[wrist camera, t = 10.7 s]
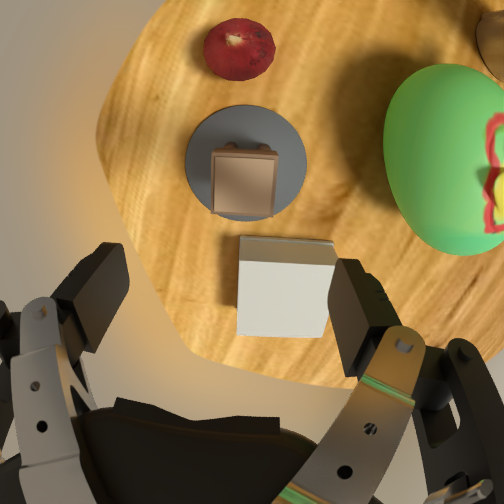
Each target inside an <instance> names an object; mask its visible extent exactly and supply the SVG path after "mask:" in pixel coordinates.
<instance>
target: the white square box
mask: <svg viewBox="0 0 504 504" xmlns="http://www.w3.org/2000/svg"><path fill="white" fill-rule="evenodd" d="M333 247H334V242H333V241H325V240H310V239H295V238H280V237H264V236H247V235H240V246H239V270H238V296H237V335H244V336H264V337H301V338H322V335H323V332H324V329H325V326H326V322H327V319H328V316H329V311H328V306H327V297H328V291H329V288H330V284H331V280H332V276H333V272H334V268H335V264H336V261H337V259H338V256H337V254H336V252H335V250H334V248H333Z"/></svg>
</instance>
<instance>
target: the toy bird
mask: <svg viewBox="0 0 504 504" xmlns="http://www.w3.org/2000/svg"><path fill="white" fill-rule="evenodd" d="M383 152H384V162H385V168H386V173H387V178H388V181H389V185H390V188H391V191H392V194H393V196H394V199H395V201H396V204H397V206H398V208H399V210H400V212H401V214H402V215H403V217H404V219H405V220H406V222H407V223H408V225H409V226H410V227H411V229H412V230H413V231H414V232H415V233H416V234H417V235H418V236H419V237H420V238H421V239H422V240H423V241H424V242H425V243H427V244H428V245H430V246H431V247H433V248H435V249H437V250H439V251H441V252H444V253H448V254H452V255H459V256H469V255H476V254H480V253H483V252H486V251H488V250H490V249H492V248H494V247H496V246H497V245H499V244H500V243H501V242H502V241H503V240H504V91H503V90H502V88H501V87H500V86H499V85H497V84H496V83H495V82H494V81H493V80H492V79H490V78H489V77H487V76H486V75H484V74H483V73H481V72H479V71H477V70H475V69H472V68H470V67H466V66H463V65H458V64H436V65H432V66H428V67H425V68H423V69H420V70H418V71H417V72H415V73H413V74H412V75H411V76H409V77H408V78H407V79H406V80H405V81H404V82H403V83H402V84H401V85H400V86H399V88H398V89H397V91H396V92H395V94H394V96H393V97H392V99H391V102H390V104H389V107H388V110H387V114H386V118H385V124H384V133H383Z"/></svg>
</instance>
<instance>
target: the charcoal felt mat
mask: <svg viewBox="0 0 504 504" xmlns="http://www.w3.org/2000/svg"><path fill="white" fill-rule="evenodd" d="M228 142H234V143H235V144H236V145H237V146H238V148H239V149H257V148H258V146H259V145H261V144H267V145H269V146H270V147H271V150H272V151H277V153H278V155H279V158H278V170H277V181H276V192H275V203H274V214H273V215H275V214H277V213H279V212H280V211H282V210H283V209H285V208H286V207H287V206H288V205H289V204H290V203H291V202H292V201H293V200H294V199H295V197H296V196H297V194H298V193H299V191H300V189H301V187H302V185H303V182H304V179H305V175H306V168H307V160H306V152H305V148H304V145H303V142H302V140H301V138H300V136H299V134H298V133H297V131H296V130H295V129H294V127H293V126H292V125H291V124H290V123H289V122H288V121H287V120H286V119H284V118H283V117H282V116H280V115H279V114H277V113H275V112H273V111H271V110H268V109H266V108H262V107H258V106H251V105H240V106H233V107H229V108H226V109H223V110H221V111H219V112H216V113H215V114H213V115H211V116H210V117H209V118H207V119H206V120H205V121H204V122H203V123H202V124H201V125H200V126H199V127H198V128H197V130H196V131H195V133H194V134H193V136H192V138H191V140H190V142H189V145H188V148H187V152H186V159H185V168H186V175H187V179H188V182H189V185H190V187H191V189H192V191H193V192H194V194H195V195H196V197H197V198H198V199H199V201H200V202H201V203H202V204H203V205H204V206H206V207H207V208H208V209H209V210H211V152H212V151H213V150H214V149H215V148H223V147H224V145H225V144H226V143H228ZM217 215H219V216H222V217H224V218H227V219H231V220H235V221H258V220H262V219H265V218H268V217H260V216H243V215H224V214H217Z"/></svg>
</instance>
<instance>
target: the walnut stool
mask: <svg viewBox="0 0 504 504" xmlns="http://www.w3.org/2000/svg"><path fill="white" fill-rule="evenodd" d="M278 158H279V155H278V153H277V151H272V150H271V147H270V146H269V145H267V144H261V145H259V146H258V148H257V149H239V148H238V146H237V145H236V144H235V143H234V142H228V143H226V144H225V145H224V147H223V148H215V149H214V150H213V151H212V152H211V214H224V215H243V216H260V217H273V214H274V203H275V192H276V181H277V170H278Z"/></svg>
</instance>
